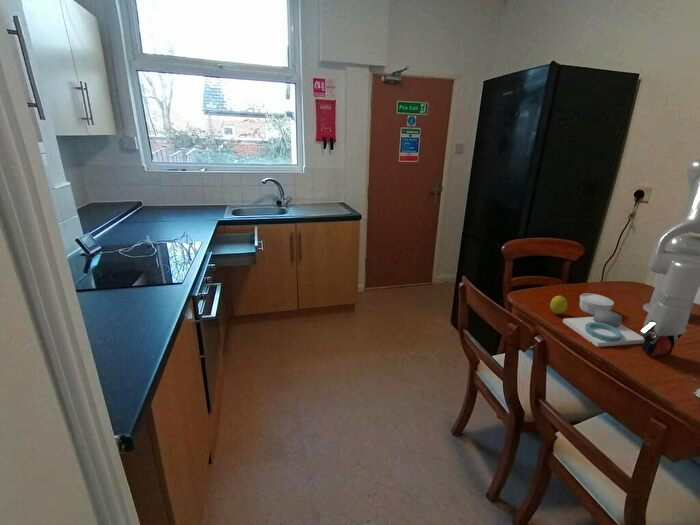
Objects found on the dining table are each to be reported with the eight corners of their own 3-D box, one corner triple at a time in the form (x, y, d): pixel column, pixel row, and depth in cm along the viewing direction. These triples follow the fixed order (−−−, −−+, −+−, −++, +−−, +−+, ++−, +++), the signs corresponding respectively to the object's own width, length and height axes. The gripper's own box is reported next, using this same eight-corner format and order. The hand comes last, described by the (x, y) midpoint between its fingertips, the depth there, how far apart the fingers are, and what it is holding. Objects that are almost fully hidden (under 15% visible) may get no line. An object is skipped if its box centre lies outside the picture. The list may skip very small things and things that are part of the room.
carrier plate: (605, 319, 129) (609, 308, 128) (645, 343, 114) (649, 331, 113) (562, 322, 127) (565, 311, 125) (597, 346, 112) (600, 334, 111)
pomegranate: (638, 349, 111) (646, 328, 108) (654, 348, 111) (662, 327, 109) (654, 360, 105) (663, 338, 103) (672, 359, 106) (680, 337, 103)
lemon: (566, 318, 130) (571, 299, 127) (551, 316, 131) (555, 298, 128) (561, 311, 135) (566, 293, 132) (546, 310, 136) (550, 291, 133)
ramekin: (587, 302, 143) (591, 291, 141) (617, 314, 133) (620, 302, 132) (570, 307, 138) (573, 295, 137) (599, 320, 129) (603, 307, 127)
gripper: (686, 293, 106) (667, 343, 113) (638, 296, 104) (621, 346, 110) (713, 304, 99) (691, 356, 106) (662, 307, 97) (642, 360, 103)
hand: (656, 351), depth 108 cm, fingers closed on pomegranate, 5 cm apart
